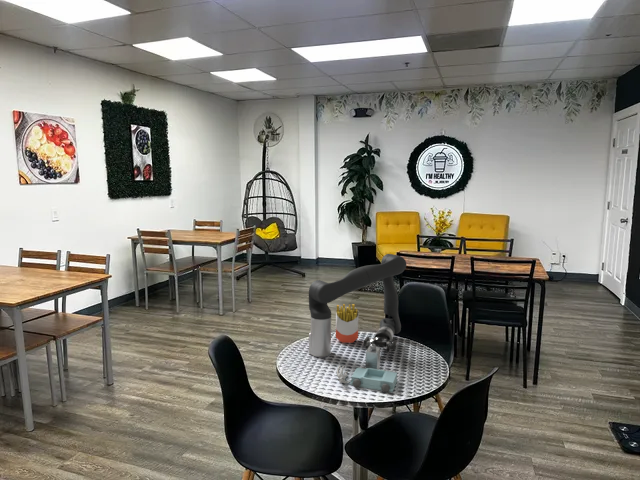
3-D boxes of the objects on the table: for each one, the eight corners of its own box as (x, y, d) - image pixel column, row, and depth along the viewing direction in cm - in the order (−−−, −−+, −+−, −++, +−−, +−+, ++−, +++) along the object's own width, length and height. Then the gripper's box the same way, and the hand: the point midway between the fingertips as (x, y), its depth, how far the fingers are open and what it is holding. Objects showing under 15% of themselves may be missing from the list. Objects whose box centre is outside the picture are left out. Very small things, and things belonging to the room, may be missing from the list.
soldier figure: (353, 377, 176) (355, 381, 164) (344, 385, 175) (346, 390, 163) (340, 362, 177) (341, 365, 165) (331, 370, 176) (332, 374, 164)
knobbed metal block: (365, 372, 177) (366, 347, 176) (368, 366, 183) (369, 342, 182) (376, 374, 176) (377, 349, 174) (379, 368, 181) (380, 344, 180)
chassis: (350, 386, 165) (350, 377, 164) (358, 373, 177) (358, 364, 176) (391, 393, 160) (392, 384, 159) (397, 379, 171) (397, 370, 171)
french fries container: (358, 343, 209) (359, 307, 207) (335, 342, 210) (336, 306, 207) (357, 339, 214) (358, 304, 211) (335, 339, 214) (336, 303, 212)
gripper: (369, 327, 203) (361, 338, 188) (399, 331, 198) (393, 343, 183) (368, 342, 204) (360, 355, 189) (399, 346, 199) (393, 360, 184)
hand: (377, 349), depth 186 cm, fingers open, 8 cm apart
